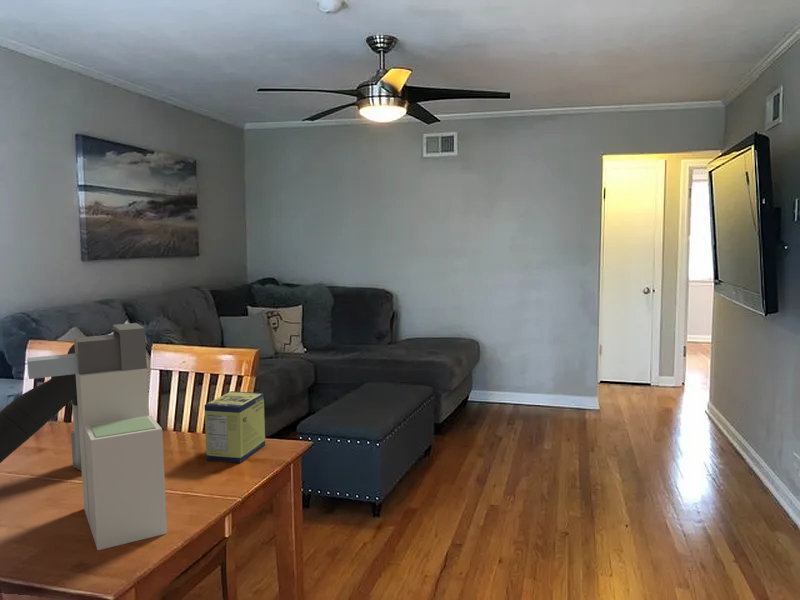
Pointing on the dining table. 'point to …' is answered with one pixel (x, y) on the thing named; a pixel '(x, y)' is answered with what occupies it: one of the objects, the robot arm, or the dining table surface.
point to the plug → (80, 358)
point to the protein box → (234, 426)
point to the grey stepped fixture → (121, 449)
